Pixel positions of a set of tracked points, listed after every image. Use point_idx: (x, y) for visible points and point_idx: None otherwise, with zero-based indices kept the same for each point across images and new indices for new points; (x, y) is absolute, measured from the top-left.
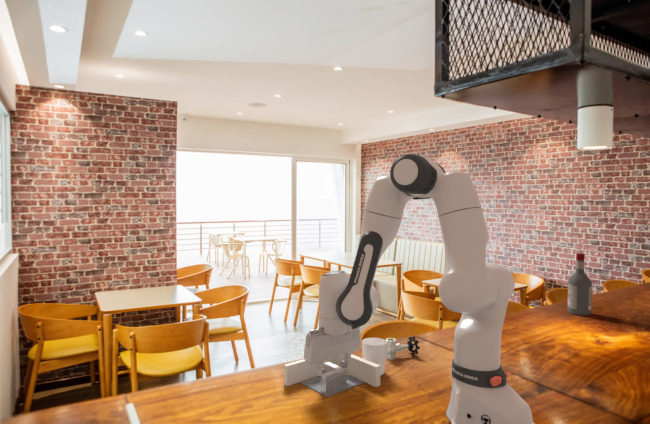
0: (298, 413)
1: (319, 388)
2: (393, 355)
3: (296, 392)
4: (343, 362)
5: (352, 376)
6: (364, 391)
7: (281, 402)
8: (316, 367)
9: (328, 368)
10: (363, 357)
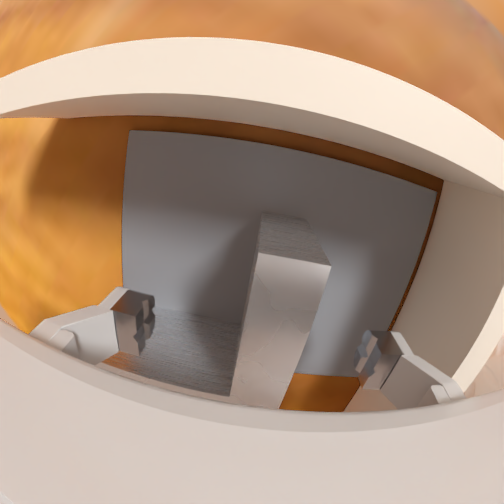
0: (22, 315)
1: (148, 273)
2: None
3: (60, 205)
4: (368, 374)
5: (404, 304)
6: (286, 406)
7: (5, 228)
8: (82, 308)
9: (247, 302)
10: (493, 362)
